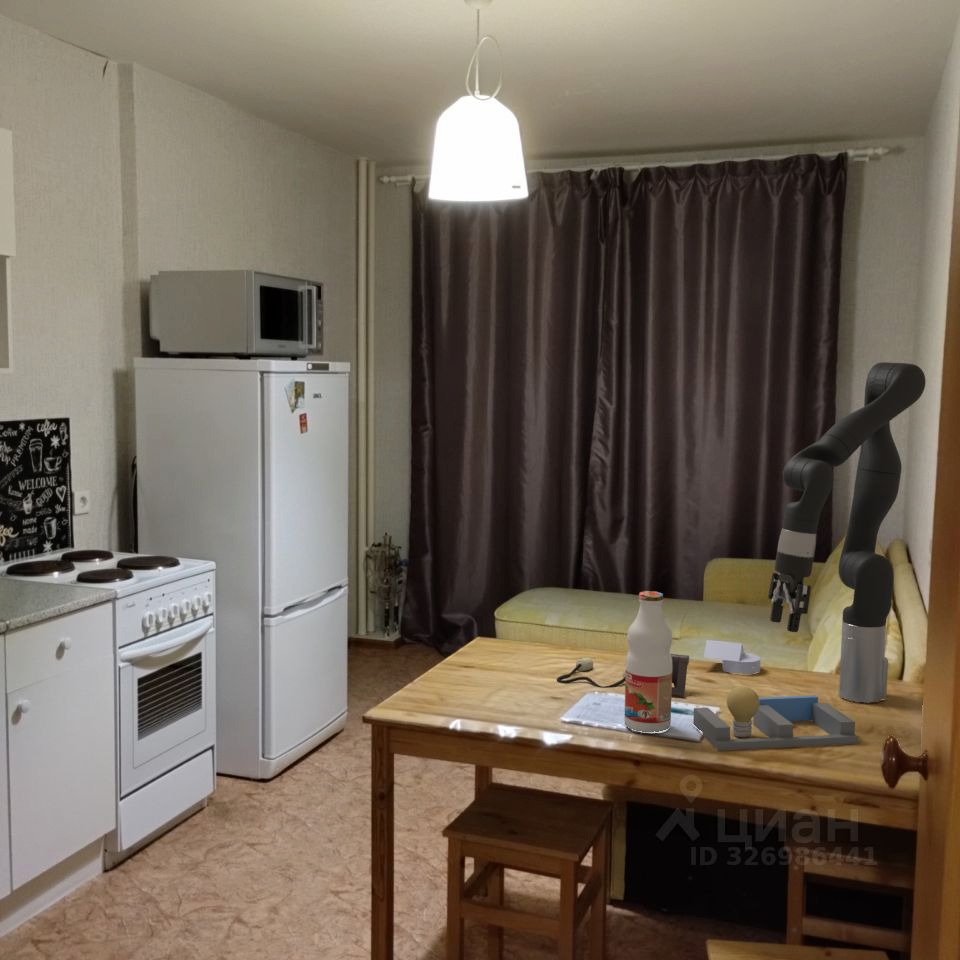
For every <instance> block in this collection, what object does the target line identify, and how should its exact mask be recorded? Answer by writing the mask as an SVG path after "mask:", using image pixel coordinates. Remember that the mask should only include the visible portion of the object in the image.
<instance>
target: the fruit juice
mask: <svg viewBox="0 0 960 960" xmlns="http://www.w3.org/2000/svg"><path fill="white" fill-rule="evenodd" d="M638 602H639V609H638V612H637V616H636V617H635V619H634V621H633V622H632V623H631V625H629V627H628V630H627V643H628V647H629V650H628V652H627V654H626V659H625V661H626V662H625V670H626V680H625V681H624V682H625V683H624V684H625V685H624V686H625V687H624V725H626V726H627V727H629V728H630V729H633V730H636V731H642V732H654V731H655V732H659V731H663V730H666V729H668V728H669V727H670V728H671V724H672V723H671V721H672V697H673V696H672V687H673V683H672V657H671V655H670V654H671V646H672V643H673V631H672V629H671V628H670V626H669V624H668V623H667V621H666V620H665V617H664V613H663V608H662V603H663V602H664V593H661V592H658V591H654V590H653V591H651V590H645V591H640V592H639V594H638ZM626 726H625V727H626ZM627 727H626V728H627ZM670 728H669V729H670Z"/></svg>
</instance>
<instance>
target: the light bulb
mask: <svg viewBox="0 0 960 960" xmlns="http://www.w3.org/2000/svg"><path fill="white" fill-rule="evenodd" d="M759 698H760V697H759V695H758V693H757V692H756V691H755V690H754V689H752V688H751V687H749V686H744V685H742V686H741V685H740V686H736V687H734V688H732V689H731V690H730V691H729V693H728V694H727V697H726V706H727V709H728V711H729V712H730V715H731V716H732V717H733V719H732V734H733V735H735V736H736V737H739V738H748V737H750V736H751V735H752V725H753V720H752V719H753V716H754V715H755V714H756V712H757V711H758V709H759Z"/></svg>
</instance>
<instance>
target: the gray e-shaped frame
mask: <svg viewBox="0 0 960 960" xmlns="http://www.w3.org/2000/svg"><path fill="white" fill-rule="evenodd" d="M752 719H753V720H752V725H754V726H755V728H756V729H758V730H759V731H760V732H761V733H763V734H764V735H766V737H761V738H758V737H756V738H755V737H754V738H739V739H731V726H730V725H729V724H727V723H726V722H725V721H724V720H723V719H722V718H721V717H719V716H718V715H717V714H716V713H715V712H714V711H712V709H710V708H709V707H694V708H693V721H692V722H693V723H692V725H693V724H694V725H695V726H696V727H697V728H698V729H699V730H701V731H702V732H703V735H704V737H705V738H706V739H707V740H706V739H705V738H704V737H703V738H704V739H705V740H706V741H709V742H708V743H709V744H710V745H711V746H713V747H714V749H715V750H717V751H720V752H721V751H737V750H738V751H739V750H756V749H778V748H782V749H783V748H798V747H801V748H802V747H820V746H822V747H823V746H841V745H858V744H859V736H858V734H855V731H856V730H855V729H856V728H855V727H856V721H855V720H853V719H852V718H850V717H849V716H848V715H846V714H844V713H843V712H841V711H840V710H838V709H837V708H835V707H834V706H832V705H831V704H829V703H828V702H819V697H818V696H817V695H816V694H815V695H796V696H795V695H792V696H790V695H789V696H768V697H764V696H763V697H759V709H758V711H757V712H756V714H755V715H754V716H753V717H752ZM805 720H807V722H809V721H810V720H812V721H811V722H812V723H813V724H815V725H816V726H817V727H819V728H820V729H821V730H822V731H824V732H825V733H827V735H825V734H823V735H805V736H804V735H803V736H802V735H801V736H794V724H793V723H792V722H806V721H805Z"/></svg>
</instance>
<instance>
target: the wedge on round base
mask: <svg viewBox="0 0 960 960" xmlns="http://www.w3.org/2000/svg"><path fill="white" fill-rule="evenodd" d="M702 658H703V659H711V660H712V659H713V660H720V661H722V666H721V667H722V668H721V670H722V669H723V670H724V671H723V670H722V671H723V672H725V671H726V672H725V673H727V672H730V673H739V674H740V673H742V674H754V673H756V672H760V673H761V660H762V659H761V657H760V656H759V655H758V654H754V653H751V652H745V650H744V646H743V643H742V642H741V643H740V642H731V641H722V640H720V641H719V640H710V639H707V640H706V643H705V649H704V654H703V657H702ZM752 667H754V668H752ZM759 670H760V671H759ZM730 673H729V674H730Z"/></svg>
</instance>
